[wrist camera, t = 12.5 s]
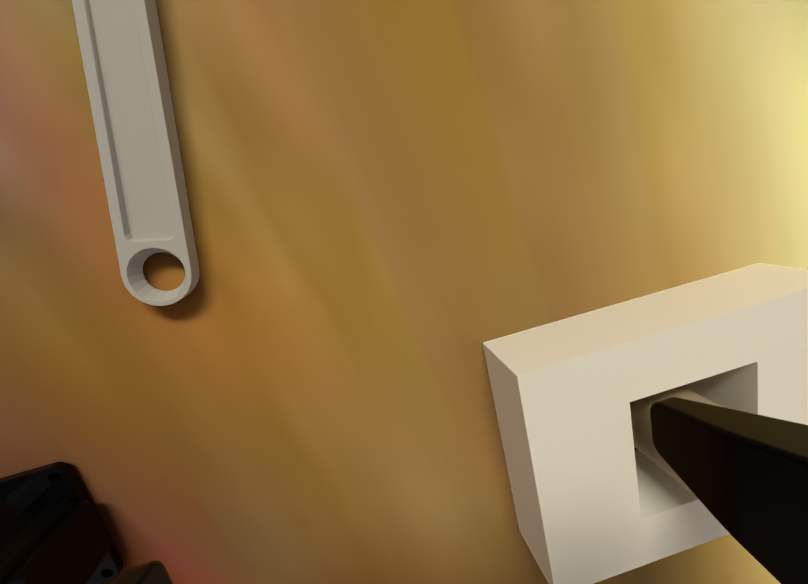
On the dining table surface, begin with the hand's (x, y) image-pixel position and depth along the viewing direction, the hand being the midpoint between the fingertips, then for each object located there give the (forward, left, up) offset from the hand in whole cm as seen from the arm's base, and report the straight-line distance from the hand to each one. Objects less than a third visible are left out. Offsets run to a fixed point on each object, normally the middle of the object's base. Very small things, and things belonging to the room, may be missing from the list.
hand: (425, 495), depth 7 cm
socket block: (+13, -9, -12) cm, 20 cm away
